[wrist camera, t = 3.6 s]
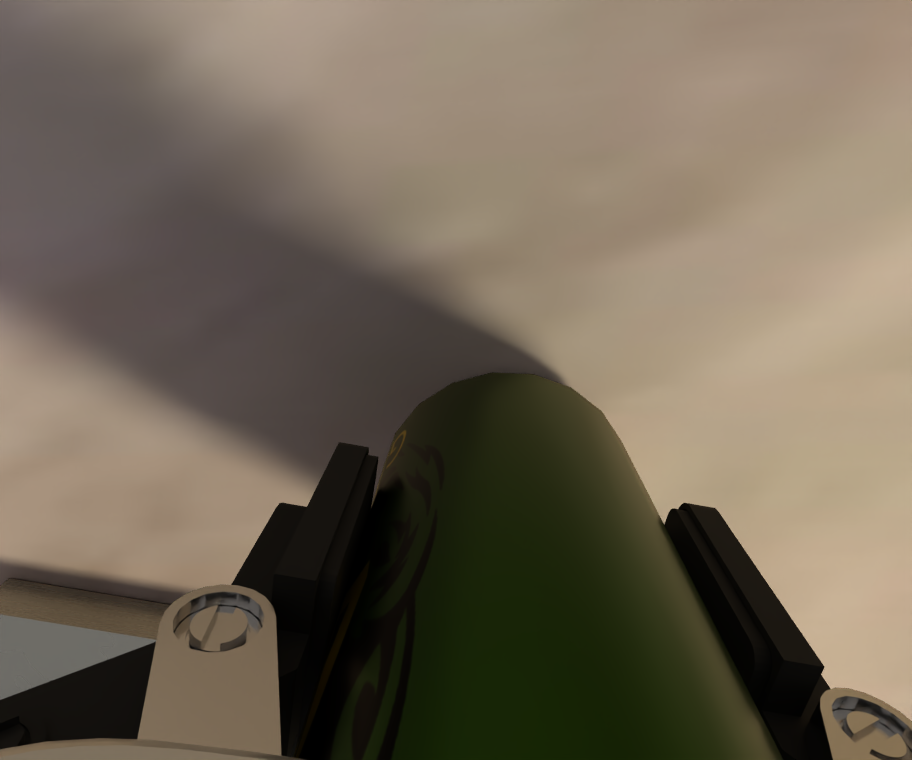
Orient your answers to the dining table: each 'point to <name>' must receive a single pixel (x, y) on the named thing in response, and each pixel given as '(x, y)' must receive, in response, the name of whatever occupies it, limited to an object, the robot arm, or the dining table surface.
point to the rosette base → (66, 631)
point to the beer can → (522, 601)
